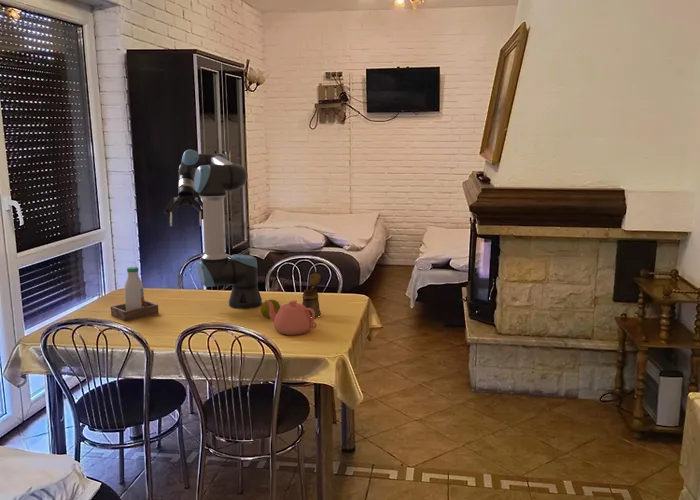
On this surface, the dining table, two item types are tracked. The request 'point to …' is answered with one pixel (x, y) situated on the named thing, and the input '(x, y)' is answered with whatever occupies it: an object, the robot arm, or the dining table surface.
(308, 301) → the dark brown tall piece
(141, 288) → the milk bottle
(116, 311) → the tray
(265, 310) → the lemon
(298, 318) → the teapot
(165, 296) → the dining table surface
